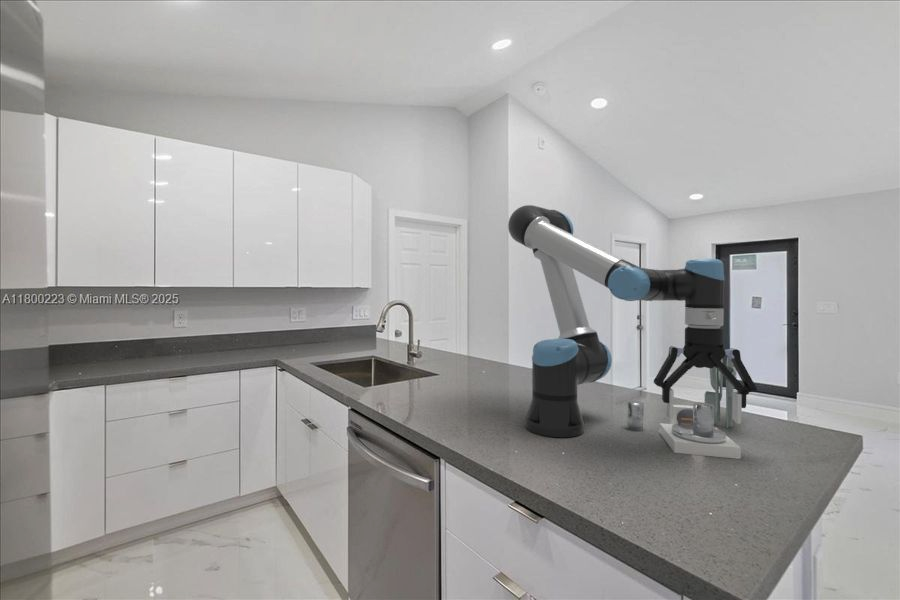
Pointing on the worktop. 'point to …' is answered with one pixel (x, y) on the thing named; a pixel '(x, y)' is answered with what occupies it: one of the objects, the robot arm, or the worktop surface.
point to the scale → (693, 447)
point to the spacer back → (635, 415)
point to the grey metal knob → (703, 419)
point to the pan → (687, 433)
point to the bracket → (716, 397)
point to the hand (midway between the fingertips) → (702, 419)
